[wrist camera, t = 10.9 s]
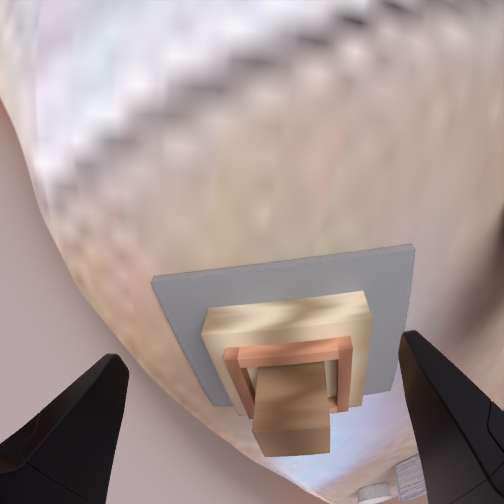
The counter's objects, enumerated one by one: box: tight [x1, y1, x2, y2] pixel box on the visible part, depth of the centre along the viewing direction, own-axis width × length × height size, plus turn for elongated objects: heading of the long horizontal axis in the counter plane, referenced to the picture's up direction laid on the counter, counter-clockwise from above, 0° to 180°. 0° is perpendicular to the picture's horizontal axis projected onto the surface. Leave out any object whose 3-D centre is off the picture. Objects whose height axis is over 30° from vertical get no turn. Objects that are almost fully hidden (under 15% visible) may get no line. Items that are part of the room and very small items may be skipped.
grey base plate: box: [151, 244, 415, 406], centre depth 26 cm, size 20×18×1 cm
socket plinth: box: [201, 291, 372, 419], centre depth 24 cm, size 12×12×4 cm
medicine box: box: [395, 454, 427, 500], centre depth 39 cm, size 8×4×9 cm, turn 144°
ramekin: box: [357, 483, 392, 504], centre depth 52 cm, size 9×9×4 cm
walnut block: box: [252, 361, 330, 457], centre depth 21 cm, size 5×5×6 cm
